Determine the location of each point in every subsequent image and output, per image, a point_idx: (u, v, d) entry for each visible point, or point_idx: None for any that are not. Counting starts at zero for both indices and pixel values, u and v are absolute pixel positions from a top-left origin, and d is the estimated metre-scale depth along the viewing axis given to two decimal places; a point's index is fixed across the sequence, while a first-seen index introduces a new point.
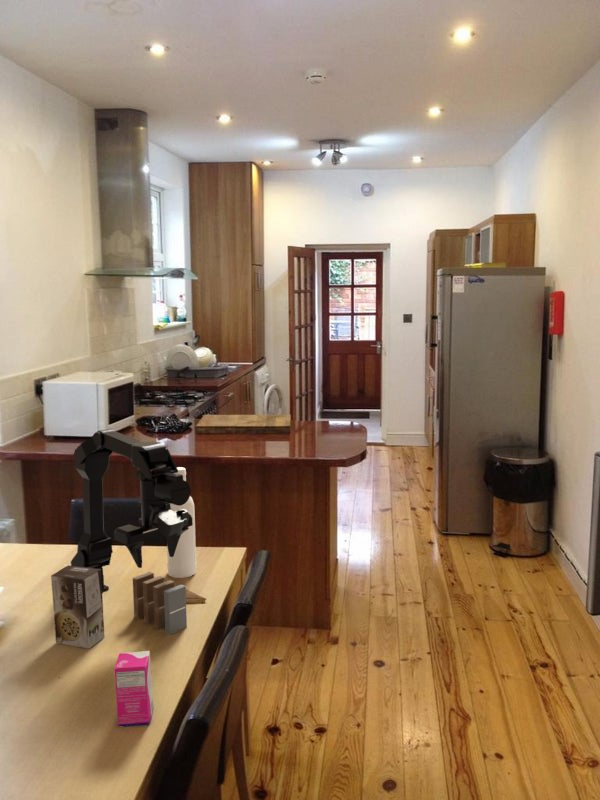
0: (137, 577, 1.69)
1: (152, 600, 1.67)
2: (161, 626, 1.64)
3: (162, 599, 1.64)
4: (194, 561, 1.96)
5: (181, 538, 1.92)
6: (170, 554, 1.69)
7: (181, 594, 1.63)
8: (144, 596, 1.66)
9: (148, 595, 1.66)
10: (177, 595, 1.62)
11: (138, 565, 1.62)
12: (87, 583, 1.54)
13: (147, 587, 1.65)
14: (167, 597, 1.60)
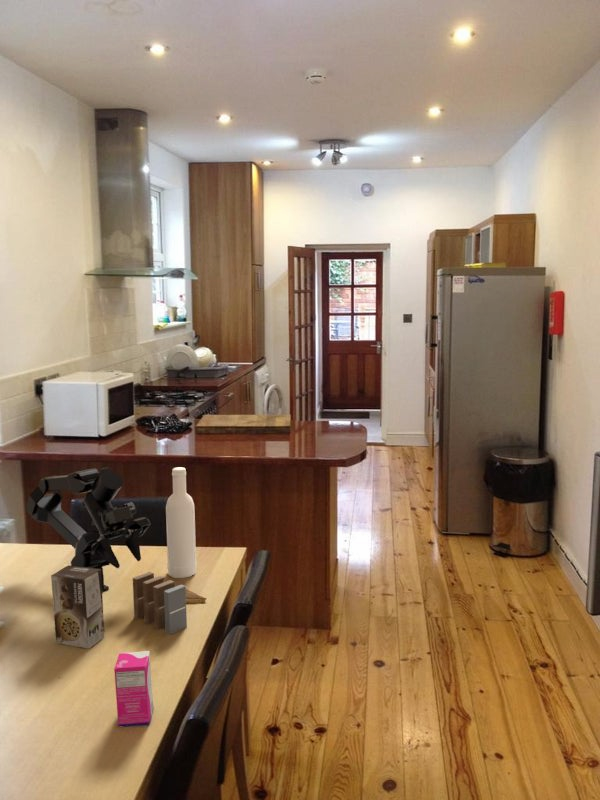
0: (137, 577, 1.69)
1: (152, 600, 1.67)
2: (161, 626, 1.64)
3: (162, 599, 1.64)
4: (194, 561, 1.96)
5: (181, 538, 1.92)
6: (137, 558, 1.76)
7: (181, 594, 1.63)
8: (144, 596, 1.66)
9: (148, 595, 1.66)
10: (177, 595, 1.62)
11: (116, 565, 1.71)
12: (87, 583, 1.54)
13: (147, 587, 1.65)
14: (167, 597, 1.60)
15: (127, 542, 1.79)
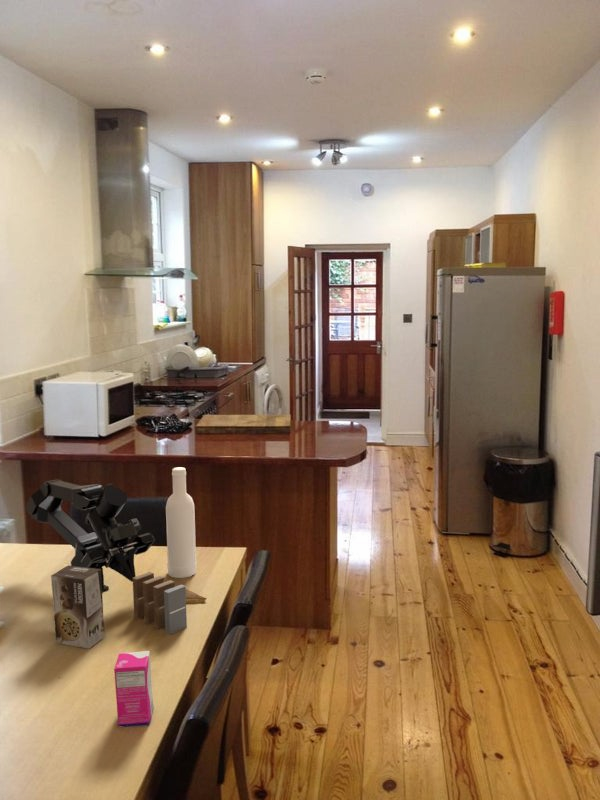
0: (137, 577, 1.69)
1: (152, 600, 1.67)
2: (161, 626, 1.64)
3: (162, 599, 1.64)
4: (194, 561, 1.96)
5: (181, 538, 1.92)
6: (132, 578, 1.73)
7: (181, 594, 1.63)
8: (144, 596, 1.66)
9: (148, 595, 1.66)
10: (177, 595, 1.62)
11: (130, 578, 1.73)
12: (87, 583, 1.54)
13: (147, 587, 1.65)
14: (167, 597, 1.60)
15: None
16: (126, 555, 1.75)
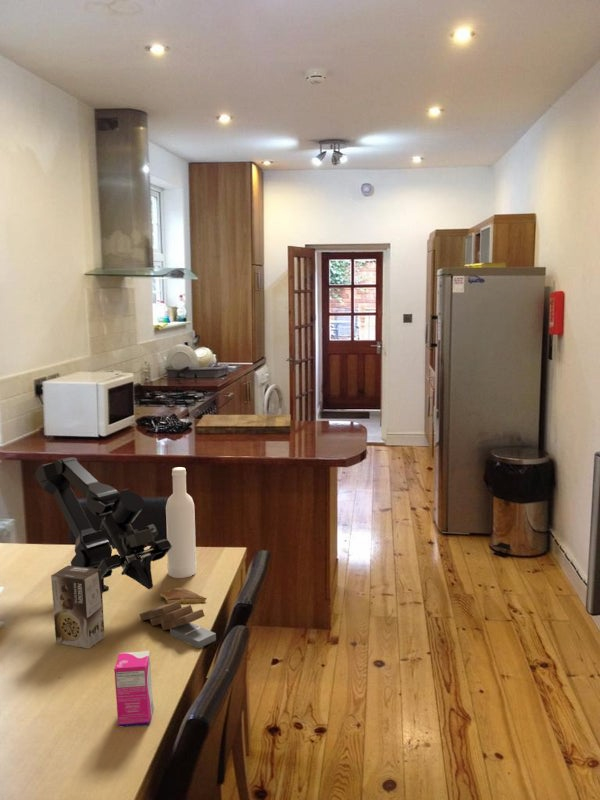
0: (166, 609, 1.63)
1: None
2: None
3: None
4: (194, 561, 1.96)
5: (181, 538, 1.92)
6: None
7: None
8: (165, 616, 1.62)
9: (170, 620, 1.61)
10: None
11: (147, 586, 1.68)
12: (87, 583, 1.54)
13: (174, 619, 1.60)
14: (195, 645, 1.55)
15: None
16: (143, 562, 1.71)
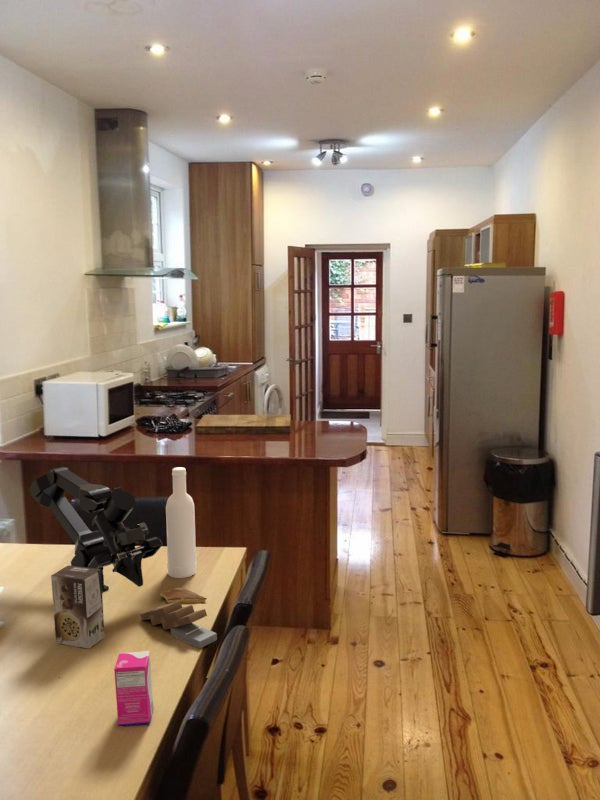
0: (167, 609, 1.63)
1: None
2: None
3: None
4: (194, 561, 1.96)
5: (181, 538, 1.92)
6: None
7: None
8: (167, 615, 1.62)
9: (171, 620, 1.62)
10: None
11: (138, 583, 1.71)
12: (87, 583, 1.54)
13: None
14: (196, 645, 1.55)
15: None
16: (133, 560, 1.73)
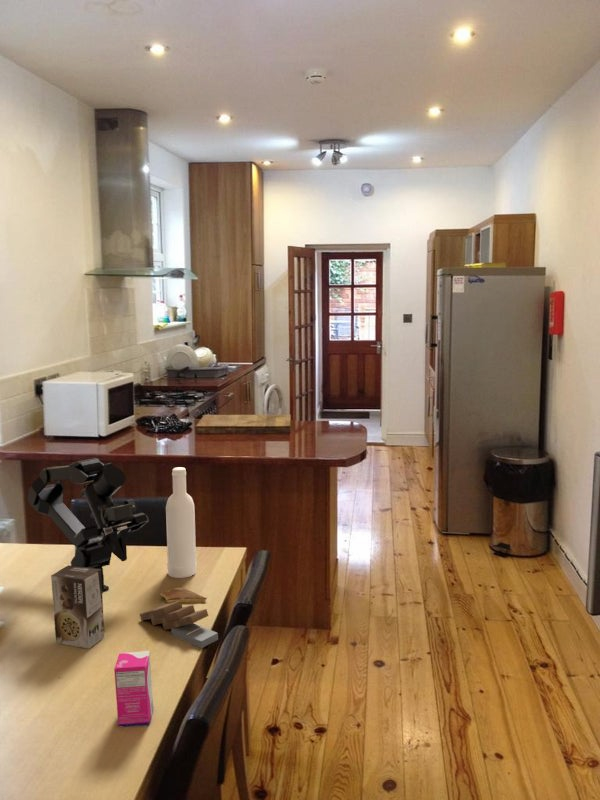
0: (167, 609, 1.63)
1: None
2: (167, 628, 1.63)
3: None
4: (194, 561, 1.96)
5: (181, 538, 1.92)
6: None
7: None
8: (167, 615, 1.62)
9: None
10: None
11: (121, 558, 1.74)
12: (87, 583, 1.54)
13: None
14: (197, 645, 1.55)
15: None
16: (119, 534, 1.76)
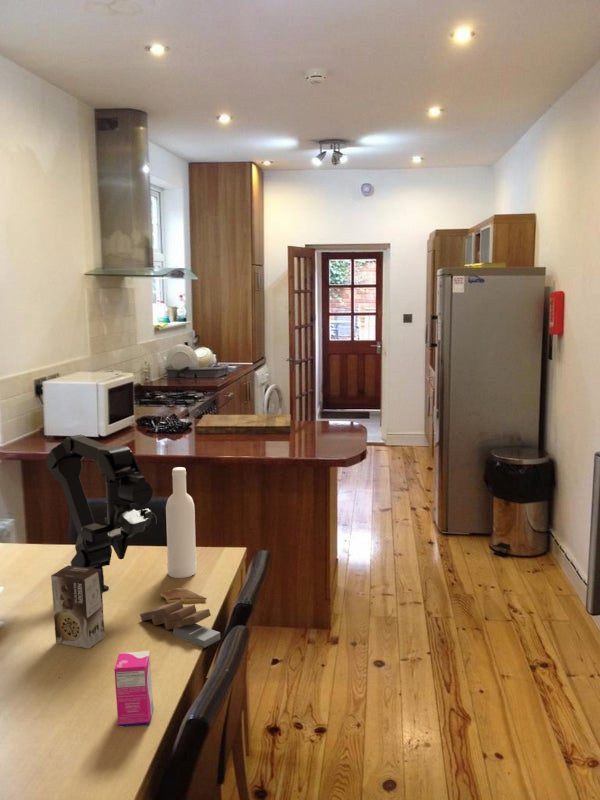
0: (169, 609, 1.63)
1: None
2: (169, 628, 1.63)
3: None
4: (194, 561, 1.96)
5: (181, 538, 1.92)
6: None
7: None
8: (169, 615, 1.62)
9: None
10: None
11: (119, 557, 1.75)
12: (87, 583, 1.54)
13: None
14: (200, 644, 1.56)
15: None
16: (125, 534, 1.75)
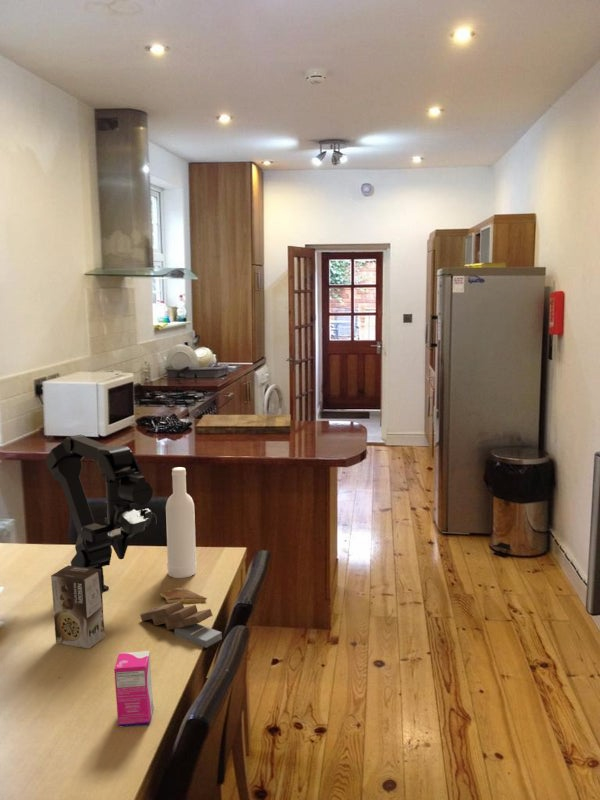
0: (169, 609, 1.63)
1: None
2: (170, 628, 1.63)
3: None
4: (194, 561, 1.96)
5: (181, 538, 1.92)
6: None
7: None
8: (170, 616, 1.62)
9: None
10: None
11: (119, 557, 1.75)
12: (87, 583, 1.54)
13: (180, 619, 1.60)
14: (202, 644, 1.56)
15: None
16: (125, 534, 1.75)
